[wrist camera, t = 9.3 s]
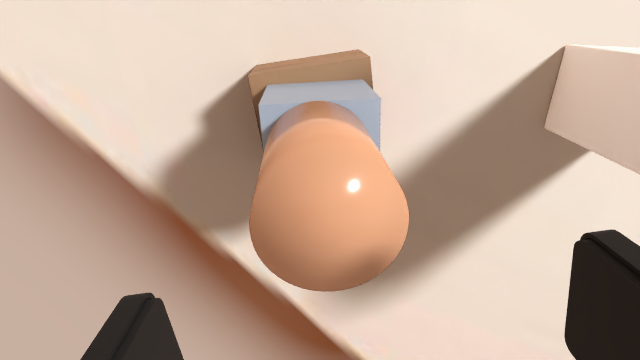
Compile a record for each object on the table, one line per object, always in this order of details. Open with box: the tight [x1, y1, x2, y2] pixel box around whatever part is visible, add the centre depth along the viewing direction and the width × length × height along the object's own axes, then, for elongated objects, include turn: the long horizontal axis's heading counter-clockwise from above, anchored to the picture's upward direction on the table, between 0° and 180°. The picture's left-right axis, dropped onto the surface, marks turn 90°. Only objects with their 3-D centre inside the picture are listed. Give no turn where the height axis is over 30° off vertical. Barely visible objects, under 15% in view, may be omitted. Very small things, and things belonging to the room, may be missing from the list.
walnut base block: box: [248, 50, 373, 146], centre depth 27 cm, size 7×7×5 cm
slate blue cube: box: [258, 79, 381, 152], centre depth 22 cm, size 6×6×6 cm
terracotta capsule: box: [249, 101, 409, 291], centre depth 16 cm, size 5×5×7 cm
